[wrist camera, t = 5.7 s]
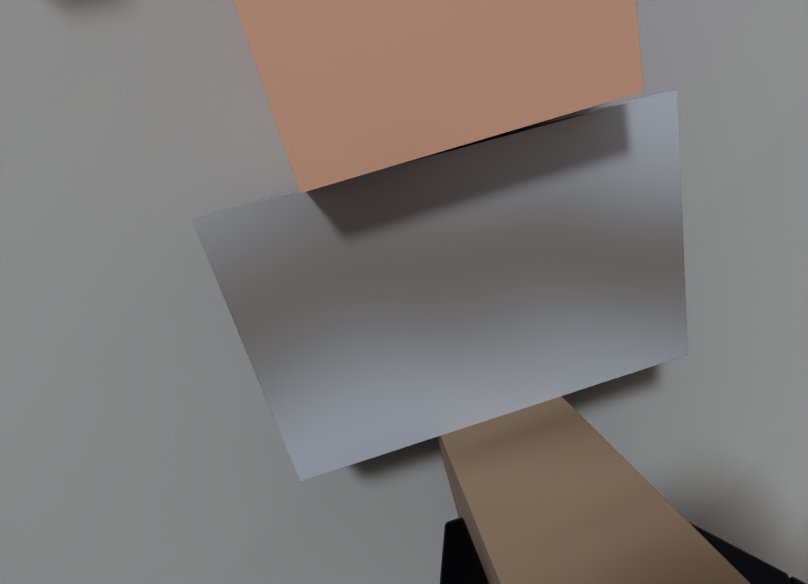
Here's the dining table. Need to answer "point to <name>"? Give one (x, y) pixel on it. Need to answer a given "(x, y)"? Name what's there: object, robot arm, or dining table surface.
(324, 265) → the turner
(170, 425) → the dining table surface
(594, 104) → the salmon pink box
